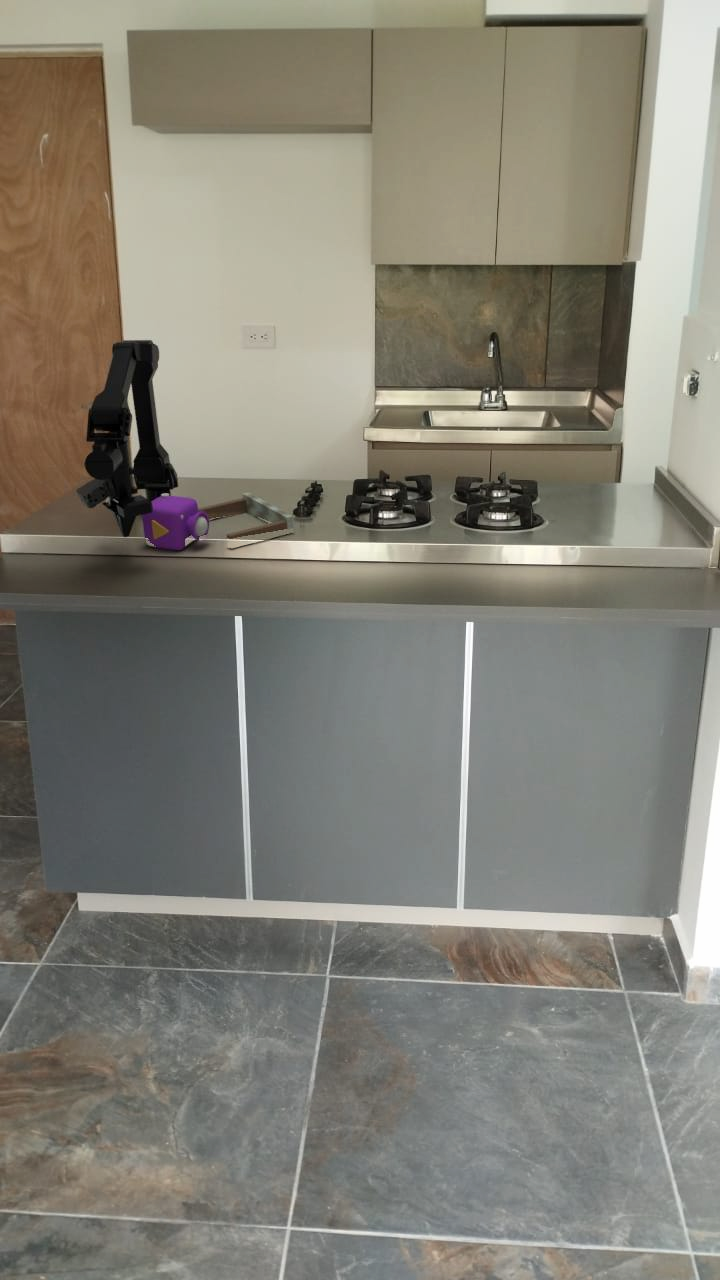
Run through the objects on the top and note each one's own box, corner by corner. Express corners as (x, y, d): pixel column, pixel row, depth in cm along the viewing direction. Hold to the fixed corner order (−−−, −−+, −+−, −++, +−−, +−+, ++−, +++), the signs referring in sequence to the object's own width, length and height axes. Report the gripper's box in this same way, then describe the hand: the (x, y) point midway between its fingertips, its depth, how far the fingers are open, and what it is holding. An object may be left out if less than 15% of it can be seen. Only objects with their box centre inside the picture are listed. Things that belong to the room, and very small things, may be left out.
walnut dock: (189, 523, 244) (187, 506, 242) (249, 508, 251) (248, 492, 249) (230, 549, 229) (229, 532, 227) (293, 533, 236) (292, 516, 234)
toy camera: (202, 554, 227) (197, 509, 222) (141, 551, 229) (135, 506, 225) (218, 536, 236) (214, 492, 232) (159, 533, 239) (154, 490, 234)
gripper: (61, 460, 221) (72, 532, 228) (95, 483, 207) (106, 559, 214) (112, 450, 226) (121, 520, 233) (149, 472, 212) (158, 546, 219)
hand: (125, 536), depth 225 cm, fingers closed
